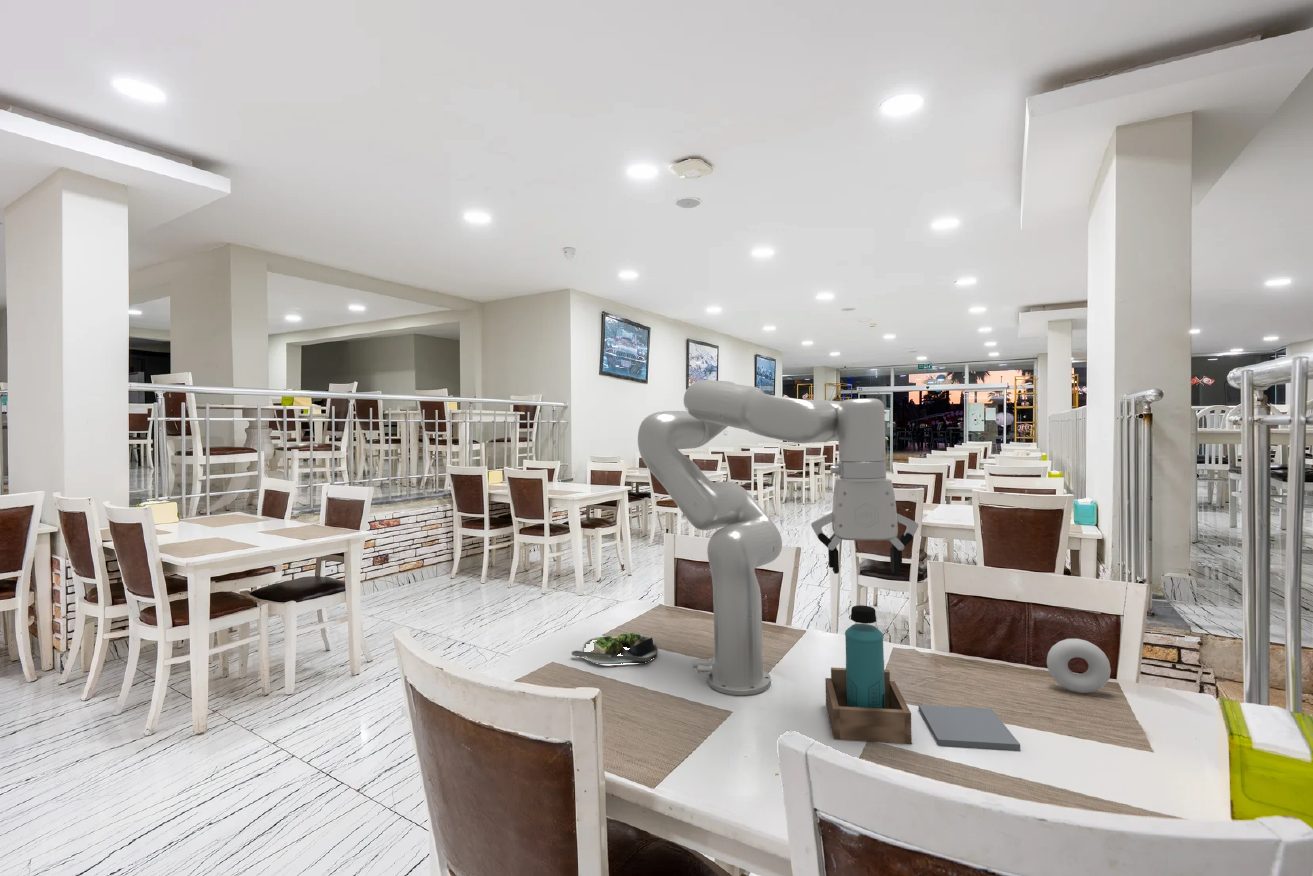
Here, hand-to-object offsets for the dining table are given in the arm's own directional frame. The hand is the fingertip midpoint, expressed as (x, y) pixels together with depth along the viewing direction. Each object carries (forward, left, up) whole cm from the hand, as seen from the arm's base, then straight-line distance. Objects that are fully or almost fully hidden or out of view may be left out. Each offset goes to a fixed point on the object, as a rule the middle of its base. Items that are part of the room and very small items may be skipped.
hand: (865, 572), depth 103 cm
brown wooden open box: (0, 0, -26) cm, 26 cm away
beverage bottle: (0, 0, -26) cm, 26 cm away
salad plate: (-49, +27, -27) cm, 62 cm away
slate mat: (+16, 0, -26) cm, 30 cm away
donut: (+41, +17, -26) cm, 51 cm away
